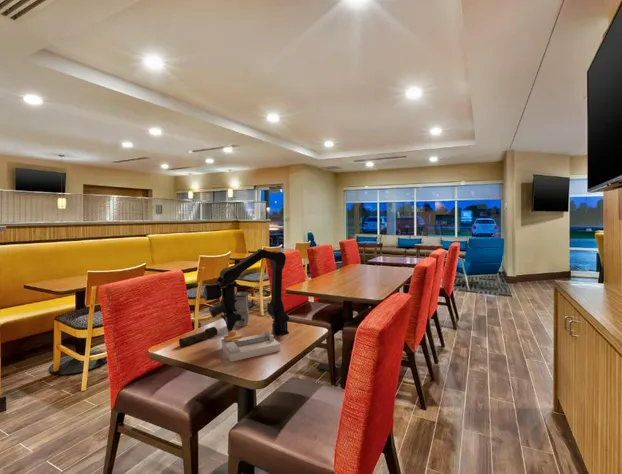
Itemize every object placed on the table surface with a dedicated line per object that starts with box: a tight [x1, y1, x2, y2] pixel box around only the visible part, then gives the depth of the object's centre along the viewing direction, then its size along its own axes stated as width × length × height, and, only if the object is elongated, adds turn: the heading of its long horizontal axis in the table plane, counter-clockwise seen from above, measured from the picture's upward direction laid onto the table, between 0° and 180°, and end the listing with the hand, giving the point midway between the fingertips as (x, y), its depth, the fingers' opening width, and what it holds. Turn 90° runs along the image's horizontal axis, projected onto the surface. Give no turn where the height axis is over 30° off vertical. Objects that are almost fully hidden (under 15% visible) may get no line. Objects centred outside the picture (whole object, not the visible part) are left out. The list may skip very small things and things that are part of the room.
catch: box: [223, 329, 243, 341], centre depth 143 cm, size 7×4×3 cm, turn 118°
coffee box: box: [234, 291, 250, 327], centre depth 176 cm, size 9×6×16 cm
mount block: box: [220, 330, 281, 362], centre depth 141 cm, size 21×15×6 cm
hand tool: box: [178, 326, 219, 348], centre depth 152 cm, size 19×4×5 cm, turn 139°
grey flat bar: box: [235, 336, 269, 347], centre depth 141 cm, size 15×4×1 cm, turn 118°
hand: (229, 332), depth 147 cm, fingers closed
